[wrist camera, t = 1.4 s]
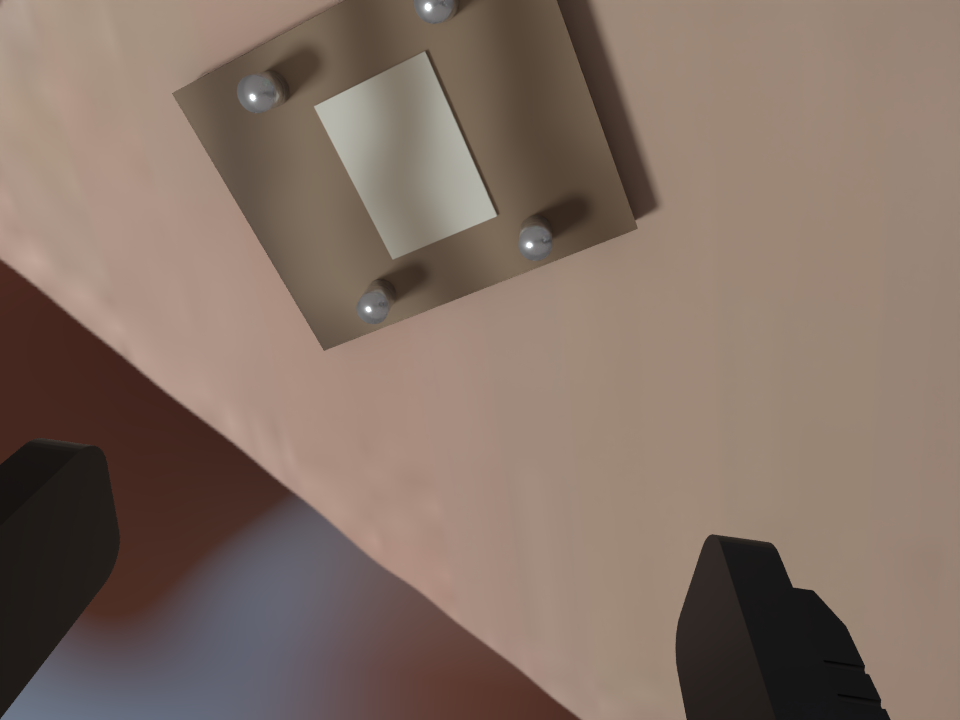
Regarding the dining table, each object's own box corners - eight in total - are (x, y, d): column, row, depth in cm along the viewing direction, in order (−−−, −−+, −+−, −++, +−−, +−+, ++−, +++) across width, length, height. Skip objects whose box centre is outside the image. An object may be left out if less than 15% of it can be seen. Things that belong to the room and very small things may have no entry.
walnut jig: (523, -91, 26) (520, -103, 23) (634, 221, 31) (643, 242, 28) (185, 90, 30) (147, 98, 28) (330, 340, 35) (311, 369, 33)
